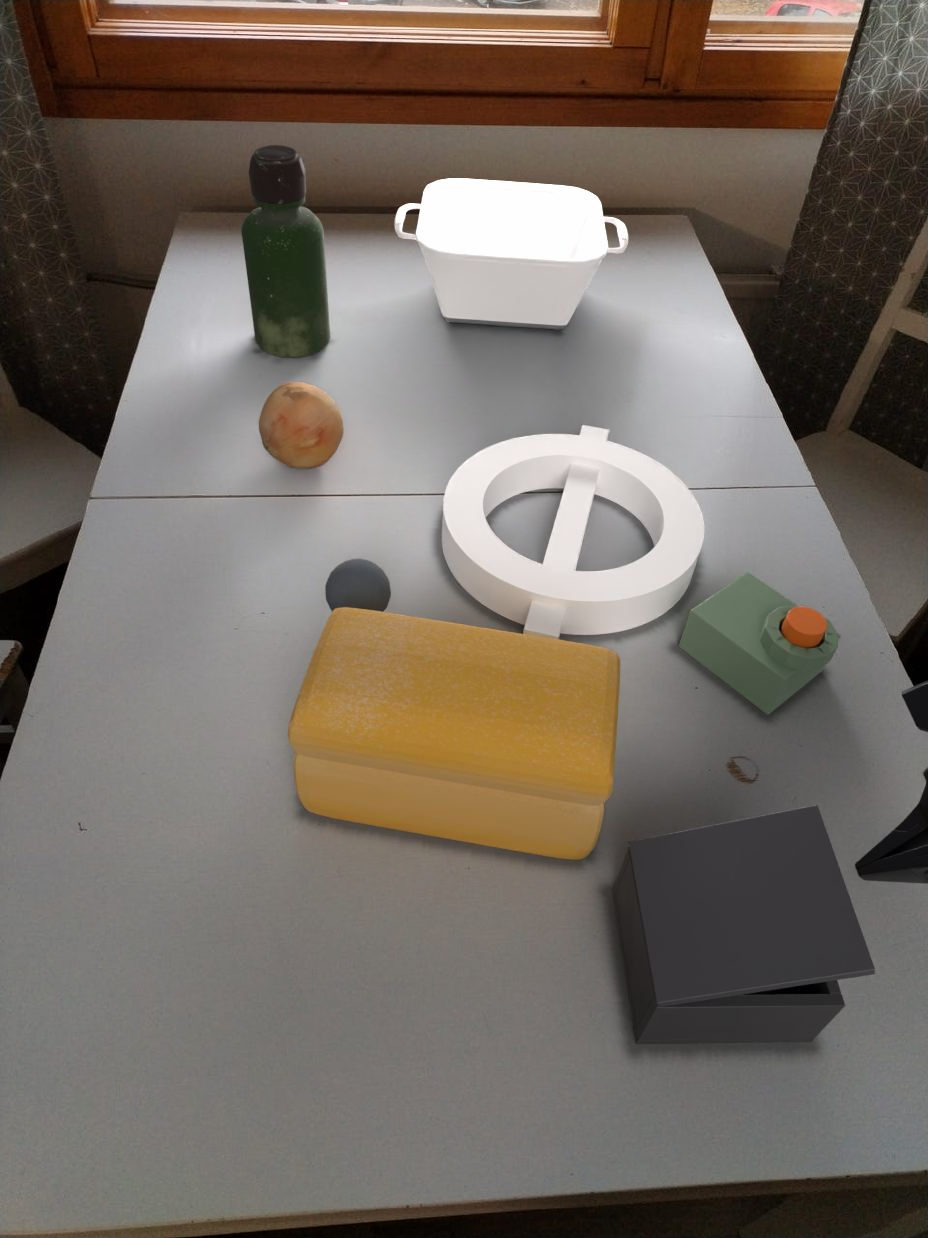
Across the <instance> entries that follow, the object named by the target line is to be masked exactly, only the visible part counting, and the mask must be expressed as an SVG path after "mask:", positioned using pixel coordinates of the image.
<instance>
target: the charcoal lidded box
mask: <svg viewBox="0 0 928 1238" xmlns="http://www.w3.org/2000/svg"><path fill="white" fill-rule="evenodd" d="M612 897H613V903H614V909H615V910H614V911H615V915H616V921H617V922H616V923H617V930H618V937H619V941H620V948H621V954H622V961H623V967H624V975H625V981H626V987H627V992H628V993H627V994H628V1000H629V1005H630V1006H629V1007H630V1012H631V1013H630V1014H631V1019H632V1026H633V1033H634V1038H635V1039H634V1040H635V1045H679V1044H680V1045H684V1044H685V1045H686V1044H688V1045H689V1044H744V1043H745V1044H749V1043H750V1044H751V1043H752V1044H753V1043H758V1044H759V1043H760V1044H761V1043H763V1044H764V1043H811V1042H813V1040H814V1039H816V1037H817V1036H818V1035H819V1034H820V1033H821V1032H822V1031H823V1030H824V1029H825V1028H826V1027H827V1026H828V1025H829V1024H830V1022H832V1020H833V1019H834V1018H836V1017H837V1016H838V1014H839V1013H840V1012H841V1011H842V1010H843V1009H844V1008H845V1007H846V1003H845V1000H844V997H843V994H842V991H841V988H840V984H839V982H838V981H839V980H834V981H827V982H820V983H814V984H807V985H801V986H794V987H788V988H781V989H774V990H768V991H761V992H755V993H748V994H742V995H735V996H729V997H722V998H715V999H709V1000H702V1001H696V1002H689V1003H683V1004H676V1005H669V1006H663V1007H659V1006H658V1004H657V1002H656V997H655V991H654V985H653V979H652V974H651V968H650V962H649V957H648V951H647V945H646V939H645V934H644V928H643V922H642V917H641V911H640V905H639V900H638V894H637V888H636V882H635V877H634V871H633V865H632V860H631V854H630V848H629V846H628V847H627V849H626V852H625V855H624V857H623V860H622V863H621V866H620V869H619V872H618V874H617V876H616V879H615V882H614V885H613V887H612Z"/></svg>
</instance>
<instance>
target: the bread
mask: <svg viewBox="0 0 928 1238" xmlns="http://www.w3.org/2000/svg"><path fill="white" fill-rule="evenodd" d="M620 686H621V658H620V657H619V654H618V653H617V652H615V651H613V650H610V649H609V648H606V647H602V646H597V645H592V644H587V643H582V642H575V641H570V640H564V639H559V640H558V639H551V638H545V637H539V636H532V635H526V634H523V633H520V632H513V631H506V630H500V629H494V628H493V629H492V628H489V627H488V628H487V627H482V626H475V625H469V624H462V623H457V622H451V621H444V620H436V619H431V618H424V617H417V616H411V615H406V614H399V613H393V612H386V611H384V612H380V611H374V610H367V609H359V608H349V607H343V608H335V609H334V610H333V611H331V613H330V615H329V617H328V619H327V621H326V623H325V625H324V627H323V629H322V631H321V634H320V636H319V638H318V641H317V643H316V645H315V648H314V650H313V654H312V656H311V659H310V662H309V664H308V667H307V670H306V672H305V675H304V678H303V681H302V684H301V686H300V688H299V692H298V694H297V698H296V700H295V703H294V706H293V708H292V712H291V715H290V719H289V723H288V727H287V738H288V742H289V744H290V747H291V748H292V750H293V751H294V754H293V758H292V759H293V761H292V762H293V764H292V767H293V778H294V787H295V790H296V795H297V797H298V799H299V801H300V803H301V804H302V806H303V807H304V808H305V809H306V811H307V812H310V813H312V814H315V815H318V816H320V817H321V816H322V817H326V818H330V819H335V820H340V821H345V822H351V823H356V824H362V825H368V826H373V827H379V828H384V829H391V830H395V831H402V832H407V833H413V834H418V835H423V836H430V837H436V838H440V839H446V840H452V841H458V842H464V843H470V844H474V845H480V846H486V847H491V848H497V849H503V850H509V851H513V852H514V851H515V852H519V853H525V854H532V855H537V856H541V857H548V858H555V859H564V860H582V859H585V858H587V857H588V856H589V855H590V854H591V853H592V852H593V850H594V849H595V847H596V845H597V842H598V840H599V836H600V832H601V829H602V826H603V825H602V824H603V820H604V815H605V814H604V813H605V804H606V801H608V800H609V799H610V797H611V795H612V793H613V788H614V787H613V785H614V772H615V762H616V761H615V760H616V750H617V735H618V734H617V733H618V720H619V706H620V705H619V703H620V688H621V687H620Z"/></svg>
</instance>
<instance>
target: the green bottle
mask: <svg viewBox="0 0 928 1238" xmlns="http://www.w3.org/2000/svg"><path fill="white" fill-rule="evenodd" d="M306 172H307V171H306V168H305V165H304V162H303V158H302V157H301V155H300V154H298V153H297V150H295V149H294V148H292V147H290V146H286V145H282V144H281V145H280V144H279V145H278V144H274V145H273V144H271V145H263V146H260V147H258V148H256V149H255V150H254V152H253V153H252V155H251V157H250V161H249V169H248V177H249V178H248V179H249V184H250V190H251V191H250V192H251V195H252V196H253V199H254V204H255V205H256V206H258V207H257V208H254V209H253V210H251V211H250V212H249V214H248V215H247V216H245V219H244V221H243V223H242V225H241V226H242V227H241V231H240V232H241V238H242V247H243V254H244V262H245V263H244V264H245V269H246V277H247V279H246V280H247V285H248V293H249V301H250V302H249V303H250V309H251V310H250V311H251V317H252V326H253V333H254V339H255V344H256V345H257V346H258V347H259V348H260V349H261V351H264V352H265V353H267V354H270V355H272V356H275V357H280V358H292V359H294V358H295V359H297V358H303V357H307V356H312V355H314V354H317V353H319V352H320V351H321V350H323V349H324V348H326V347H327V346H328V345H329V343H330V339H331V329H330V328H331V327H330V312H329V311H330V310H329V297H328V280H327V279H328V277H327V263H326V247H325V245H326V244H325V234H324V233H325V231H324V226H323V224H322V222H321V219H319V218H318V217H317V215H316V214H314V212H312V211H311V209H309V208H307V207H305V206H303V205H304V204H305V203H306V194H307V178H306Z"/></svg>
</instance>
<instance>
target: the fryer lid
mask: <svg viewBox="0 0 928 1238" xmlns="http://www.w3.org/2000/svg"><path fill="white" fill-rule="evenodd" d="M628 847H629V848H630V854H631V860H632V865H633V871H634V877H635V882H636V888H637V894H638V900H639V905H640V911H641V917H642V922H643V928H644V934H645V939H646V945H647V951H648V957H649V962H650V968H651V974H652V979H653V985H654V991H655V997H656V1002H657V1004H658V1006H659V1007H663V1006H669V1005H676V1004H683V1003H689V1002H696V1001H702V1000H709V999H715V998H722V997H729V996H735V995H742V994H748V993H755V992H761V991H768V990H774V989H781V988H788V987H794V986H801V985H807V984H814V983H820V982H827V981H834V980H837V981H840V980H846V979H853V978H858V977H867V976H871V975H875V974H876V968H875V965H874V963H873V959H872V956H871V953H870V950H869V947H868V945H867V942H866V940H865V937H864V933H863V931H862V929H861V925H860V922H859V920H858V917H857V914H856V912H855V911H856V910H855V907H854V904H853V902H852V899H851V896H850V893H849V891H848V888H847V885H846V883H845V882H846V881H845V880H844V876H843V873H842V870H841V868H840V865H839V862H838V860H837V857H836V854H835V850H834V847H833V845H832V843H831V839H830V836H829V833H828V830H827V828H826V826H825V822H824V819H823V816H822V814H821V810H820V808H819V805H818V804H814V805H809V806H804V807H797V808H794V809H787V810H783V811H778V812H773V813H768V814H763V815H762V814H761V815H757V816H752V817H747V818H741V819H737V820H732V821H725V822H722V823H717V824H716V823H715V824H711V825H706V826H700V827H695V828H691V829H685V830H680V831H675V832H674V831H673V832H669V833H664V834H659V835H654V836H650V837H644V838H640V839H634V840H629V841H628Z"/></svg>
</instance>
